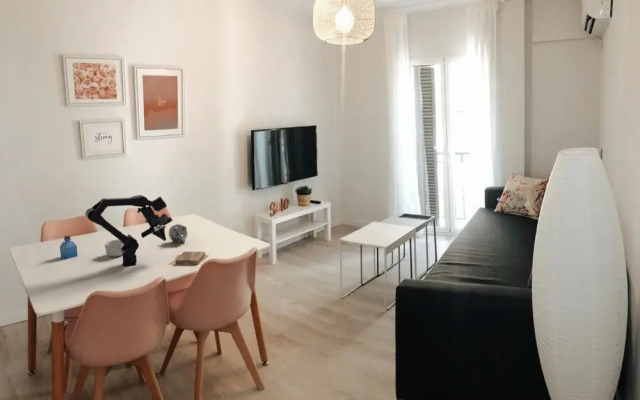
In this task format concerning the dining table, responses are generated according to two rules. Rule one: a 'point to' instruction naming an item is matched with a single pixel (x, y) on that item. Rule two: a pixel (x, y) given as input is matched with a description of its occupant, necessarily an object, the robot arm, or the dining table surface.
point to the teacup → (114, 248)
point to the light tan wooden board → (187, 264)
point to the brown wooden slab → (190, 258)
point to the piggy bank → (178, 233)
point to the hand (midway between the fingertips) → (165, 240)
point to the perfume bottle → (68, 248)
